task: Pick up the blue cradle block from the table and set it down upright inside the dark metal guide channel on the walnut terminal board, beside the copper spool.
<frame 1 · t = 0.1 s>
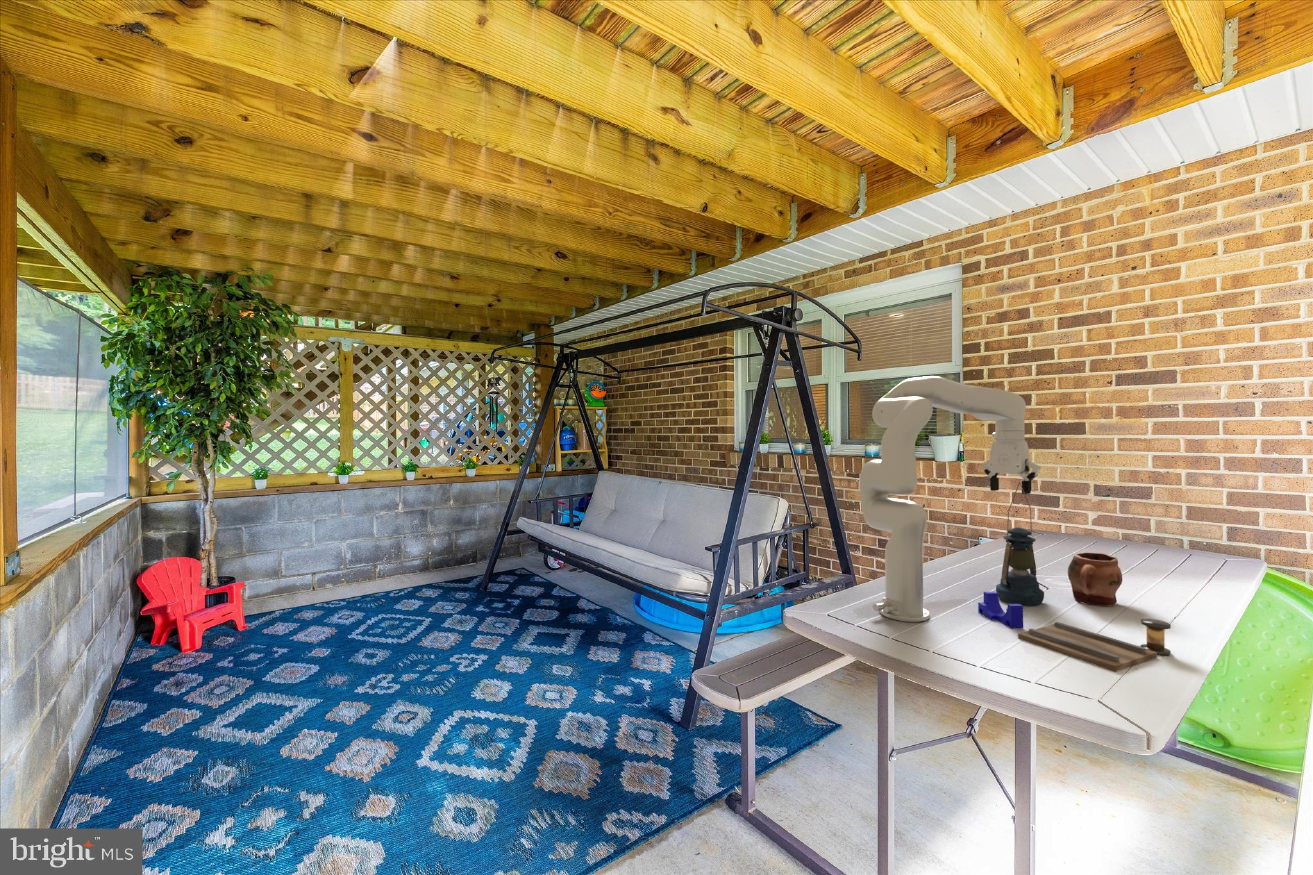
hand: (1010, 492, 166), 31 cm above the table, tool pointing down, fingers open, 9 cm apart
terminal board: (1084, 647, 125), on the table
copper spool: (1155, 651, 122), on the table
blue cradle block: (999, 621, 143), on the table
lantern: (1019, 601, 159), on the table
decorative planter: (1094, 604, 155), on the table
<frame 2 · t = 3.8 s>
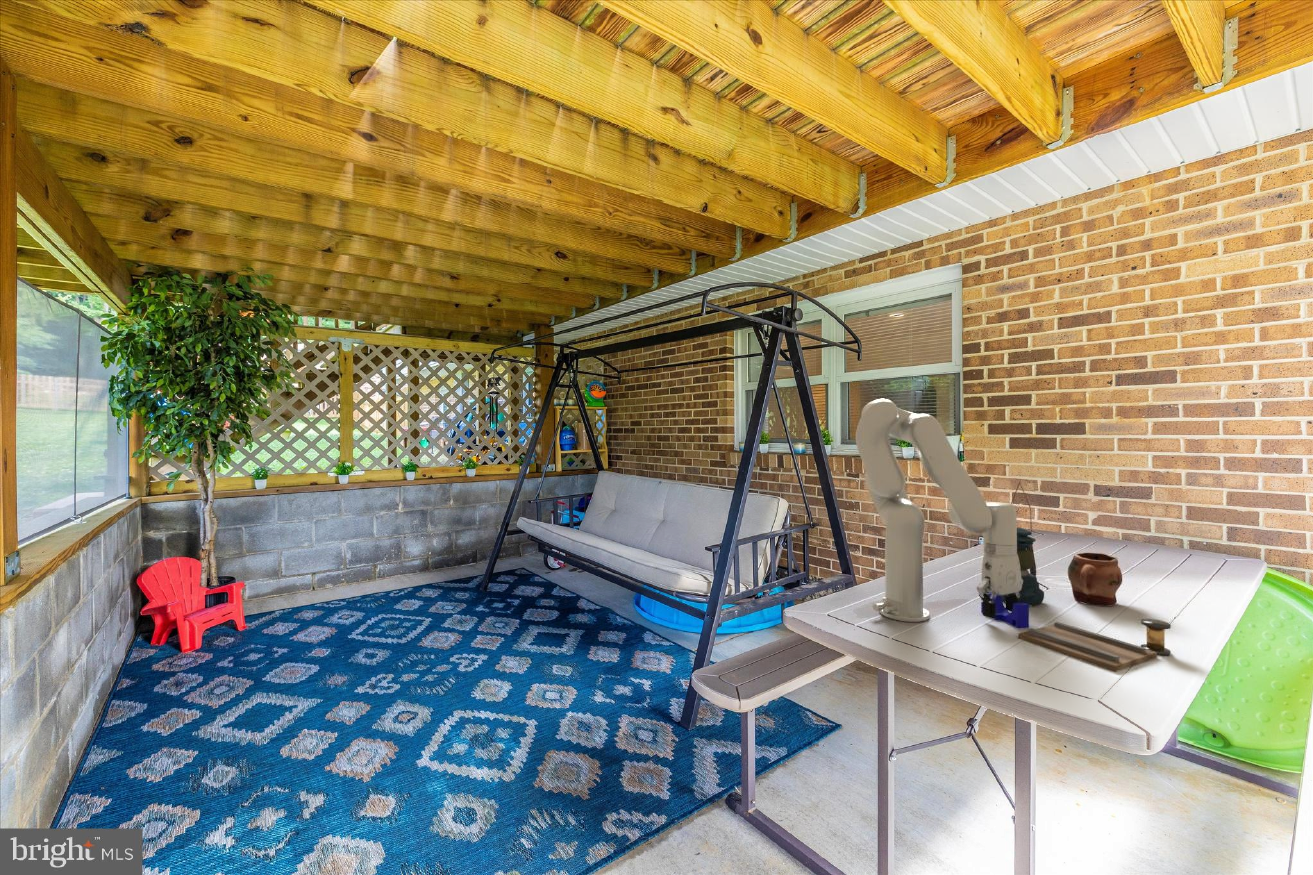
hand: (1000, 614, 143), 2 cm above the table, tool pointing down, fingers open, 8 cm apart
blue cradle block: (1004, 620, 144), on the table
everything else where it was.
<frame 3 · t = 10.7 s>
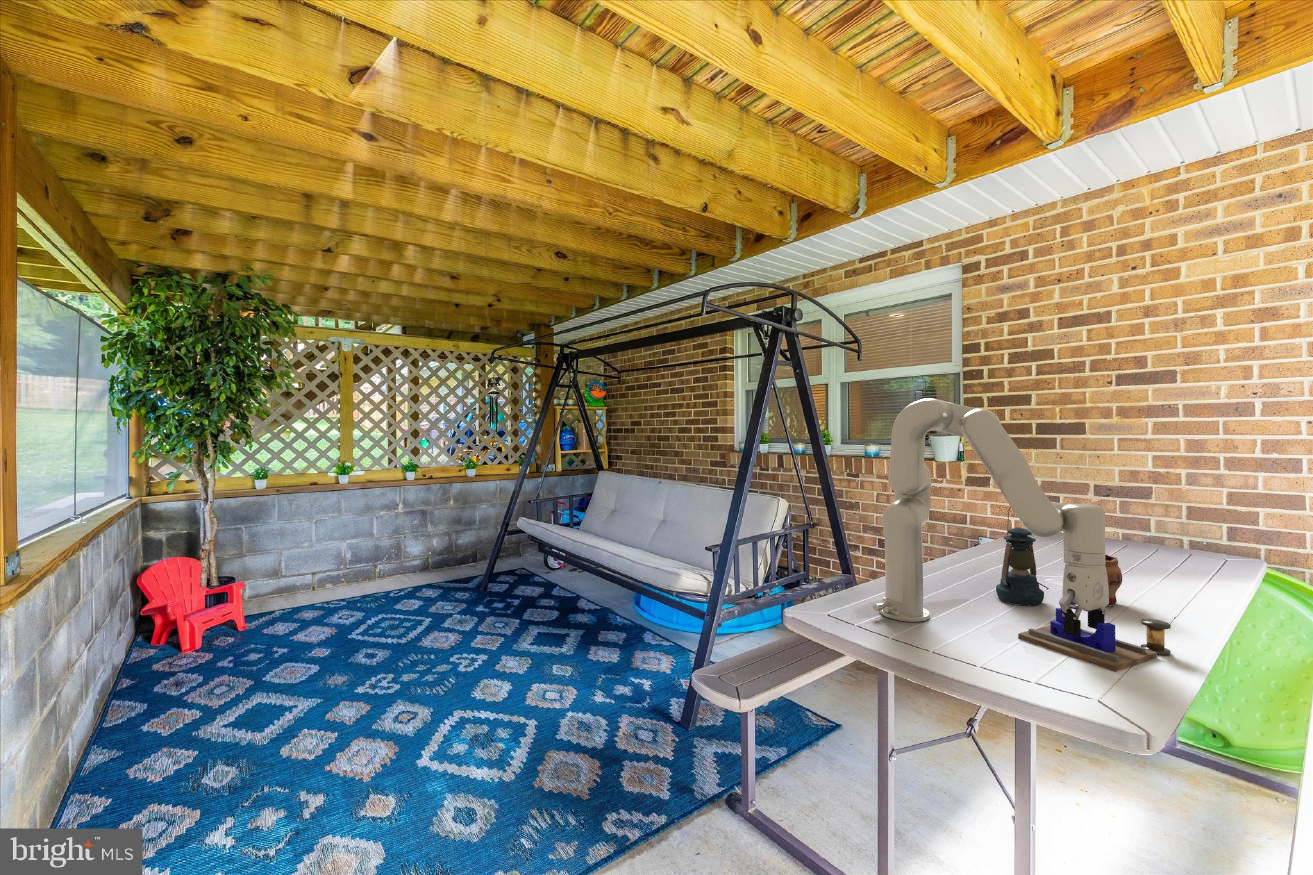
hand: (1084, 631, 125), 4 cm above the table, tool pointing down, fingers open, 8 cm apart
blue cradle block: (1081, 642, 125), point 1 cm above the table, touching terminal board
everything else where it was.
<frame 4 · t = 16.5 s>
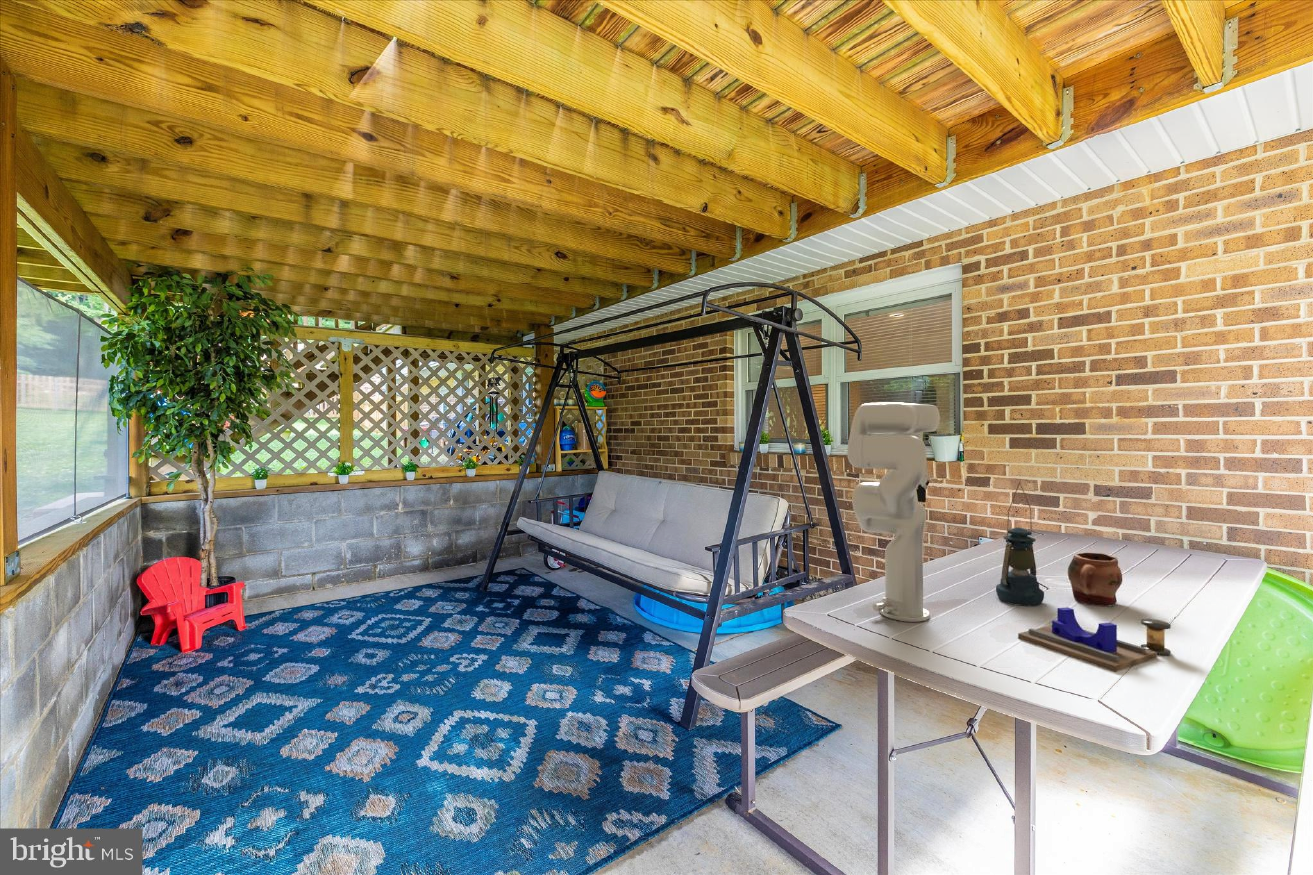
hand: (909, 503, 165), 28 cm above the table, tool pointing down, fingers open, 9 cm apart
nothing on the table moved.
at the end: blue cradle block 0.3 cm off-centre on the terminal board, point 1.0 cm above the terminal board's base; blue cradle block tilted 0°; the gripper is holding nothing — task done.
